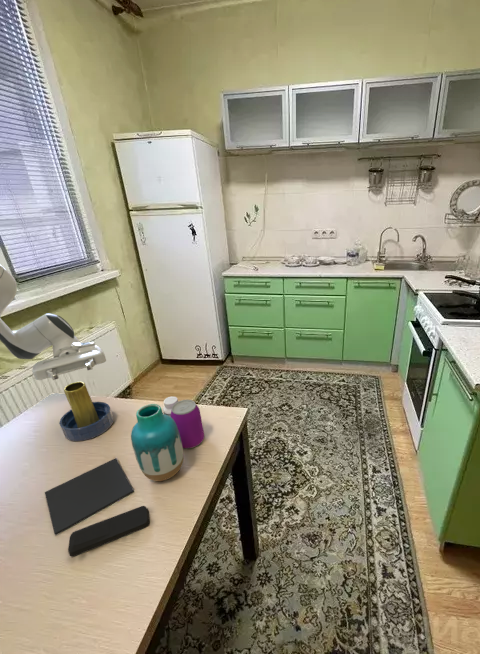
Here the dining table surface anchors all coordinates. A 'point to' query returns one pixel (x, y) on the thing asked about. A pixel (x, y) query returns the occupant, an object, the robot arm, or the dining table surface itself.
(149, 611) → the dining table surface
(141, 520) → the remote control
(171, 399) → the pill bottle
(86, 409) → the vase
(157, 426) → the vase
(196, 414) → the beverage can
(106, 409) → the bowl
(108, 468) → the mat
